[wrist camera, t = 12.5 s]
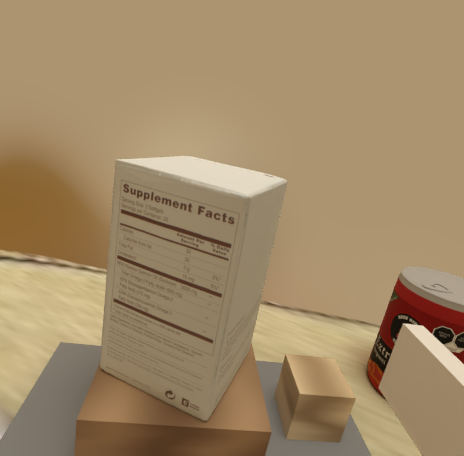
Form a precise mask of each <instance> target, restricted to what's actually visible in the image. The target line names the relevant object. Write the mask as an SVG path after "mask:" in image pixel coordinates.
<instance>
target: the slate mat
mask: <svg viewBox="0 0 464 456" xmlns="http://www.w3.org/2000/svg"><path fill="white" fill-rule="evenodd" d="M100 359H101V346H95V345H84V344H73V343H63V342H61V343H60V344H59V346H58V347H57V349H56V351H55V352H54V354H53V356H52V357H51V359H50V361H49V362H48V364H47V365H46V367H45V369H44V370H43V372H42V374H41V375H40V377H39V378H38V380H37V382H36V383H35V385H34V387H33V388H32V390H31V391H30V393H29V395H28V396H27V398H26V400H25V401H24V403H23V404H22V406H21V408H20V409H19V411H18V413H17V414H16V416H15V418H14V419H13V421H12V422H11V424H10V426H9V427H8V429H7V431H6V432H5V434H4V435H3V437H2V439H1V440H0V456H74V455H75V439H76V422H77V418H78V415H79V413H80V410H81V408H82V405H83V403H84V400H85V398H86V395H87V393H88V390H89V388H90V386H91V383H92V381H93V378H94V376H95V373H96V371H97V368H98V366H99V363H100ZM256 365H257V370H258V374H259V378H260V383H261V387H262V392H263V396H264V400H265V405H266V409H267V414H268V418H269V423H270V427H271V431H272V433H271V436H270V440H269V444H268V447H267V451H266V454H265V456H371V454H370V452H369V450H368V448H367V446H366V444H365V442H364V440H363V438H362V436H361V434H360V432H359V430H358V428H357V426H356V424H355V422H354V420H353V418H352V416H351V414H350V415H349V418H348V421H347V424H346V427H345V429H344V432H343V435H342V438H341V440H340V443H338V442H322V441H306V440H289V439H286V436H285V433H284V429H283V425H282V421H281V418H280V414H279V410H278V406H277V403H276V399H275V391H276V388H277V384H278V380H279V377H280V373H281V369H282V366H283V363H276V362H265V361H256Z"/></svg>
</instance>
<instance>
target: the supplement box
mask: <svg viewBox="0 0 464 456" xmlns="http://www.w3.org/2000/svg"><path fill="white" fill-rule="evenodd" d="M286 187H287V181H286V180H285V179H282V178H279V177H276V176H273V175H269V174H265V173H261V172H257V171H253V170H248V169H244V168H239V167H235V166H230V165H226V164H222V163H217V162H212V161H208V160H205V159H200V158H195V157H191V156H177V157H160V158H143V159H120V160H119V159H118V160H116V161H115V176H114V188H113V200H112V215H111V226H110V240H109V251H108V265H107V278H106V292H105V304H104V319H103V331H102V346H101V359H100V368H101V369H103V370H104V371H105V372H107V373H109V374H111V375H113V376H115V377H117V378H119V379H120V380H123V381H125V382H127V383H128V384H130V385H132V386H134V387H136V388H138V389H140V390H142V391H144V392H146V393H148V394H150V395H152V396H154V397H156V398H158V399H160V400H162V401H164V402H166V403H168V404H170V405H172V406H174V407H176V408H178V409H180V410H182V411H184V412H186V413H188V414H190V415H192V416H194V417H196V418H199V419H201V420H203V421H207V420H208V419H209V417H210V416H211V414H212V412H213V411H214V409H215V408H216V406H217V405H218V403H219V401H220V400H221V398H222V396H223V394H224V393H225V391H226V389H227V388H228V386H229V384H230V383H231V381H232V379H233V377H234V376H235V374H236V372H237V371H238V369H239V367H240V366H241V364H242V362H243V360H244V359H245V357H246V355H247V354H248V352H249V350H250V345H251V341H252V336H253V332H254V328H255V323H256V319H257V314H258V310H259V305H260V301H261V297H262V292H263V288H264V284H265V279H266V275H267V270H268V266H269V261H270V257H271V252H272V248H273V244H274V240H275V235H276V231H277V226H278V222H279V218H280V213H281V209H282V204H283V200H284V195H285V191H286Z"/></svg>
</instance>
